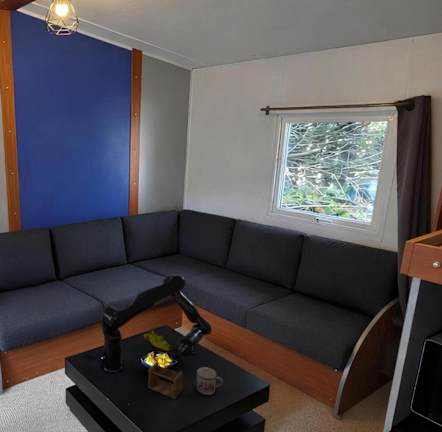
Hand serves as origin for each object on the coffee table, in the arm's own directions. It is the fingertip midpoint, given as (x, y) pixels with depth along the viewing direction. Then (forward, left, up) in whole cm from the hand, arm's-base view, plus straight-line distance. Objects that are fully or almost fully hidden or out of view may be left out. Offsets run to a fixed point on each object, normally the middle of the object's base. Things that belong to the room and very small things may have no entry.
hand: (176, 356), depth 199 cm
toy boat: (-20, +20, -12) cm, 30 cm away
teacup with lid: (+17, 0, -12) cm, 21 cm away
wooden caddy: (0, -12, -11) cm, 17 cm away
